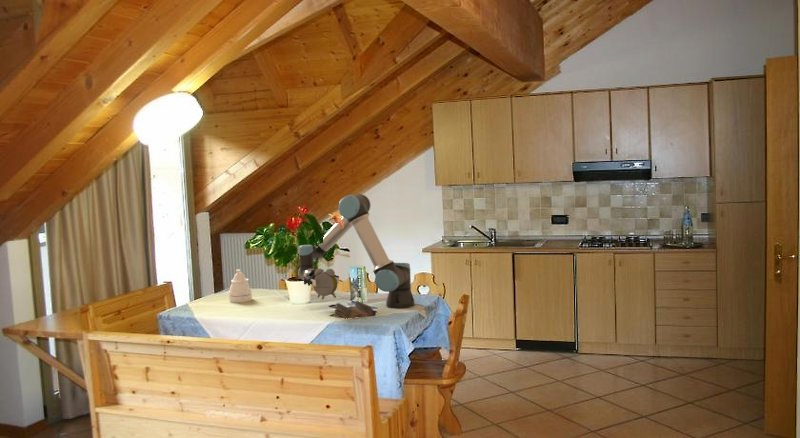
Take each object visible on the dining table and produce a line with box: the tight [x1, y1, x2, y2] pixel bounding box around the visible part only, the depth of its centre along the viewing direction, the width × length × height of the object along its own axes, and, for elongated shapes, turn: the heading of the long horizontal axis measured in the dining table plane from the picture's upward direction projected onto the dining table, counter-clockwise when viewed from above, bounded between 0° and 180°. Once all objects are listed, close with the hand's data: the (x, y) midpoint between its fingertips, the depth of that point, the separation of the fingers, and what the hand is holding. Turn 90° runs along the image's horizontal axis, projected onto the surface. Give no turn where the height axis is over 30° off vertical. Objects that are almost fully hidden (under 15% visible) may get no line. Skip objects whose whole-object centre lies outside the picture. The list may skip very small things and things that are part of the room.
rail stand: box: [334, 300, 374, 320], centre depth 350 cm, size 14×18×4 cm
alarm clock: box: [312, 268, 338, 301], centre depth 344 cm, size 12×7×15 cm, turn 70°
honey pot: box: [228, 269, 253, 303], centre depth 398 cm, size 13×13×18 cm
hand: (326, 282), depth 343 cm, fingers closed on alarm clock, 11 cm apart
